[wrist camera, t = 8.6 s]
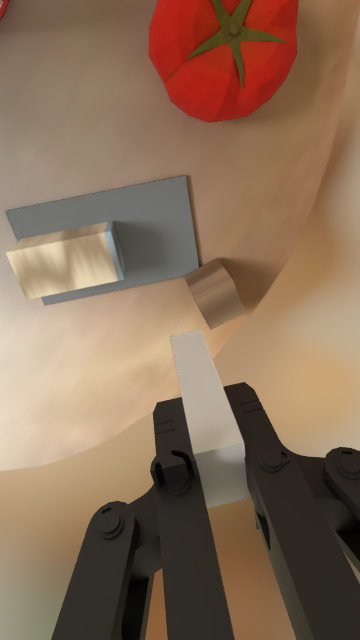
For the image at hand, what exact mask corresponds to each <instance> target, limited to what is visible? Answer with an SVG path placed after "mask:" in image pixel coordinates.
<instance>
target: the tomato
mask: <svg viewBox="0 0 360 640" xmlns="http://www.w3.org/2000/svg"><path fill="white" fill-rule="evenodd" d="M298 1H299V0H158V2H157V5H156V8H155V11H154V14H153V17H152V20H151V23H150V26H149V56H150V59H151V61H152V62H153V64H154V66H155V68H156V70H157V71H158V73H159V75H160V77H161V79H162V80H163V82H164V85H165V87H166V90H167V92H168V94H169V97H170V99H171V102H173V103H174V104H175V105H176V106H177V107H179V108H180V109H181V110H182V111H184V112H185V113H186V114H187V115H190V116H192V117H195V118H197V119H200V120H202V121H205V122H209V123H210V122H217V121H223V120H229V119H235V118H240V117H245V116H248V115H249V114H251V113H252V112H254V111H255V110H256V109H258V108H259V107H260V106H261V105H263V104H264V103H265V102H267V101H268V100H269V99H270V98H271V97H272V96H273V95H274V93H275V92H276V91H277V90H278V88H279V87H280V86H281V84H282V83H283V82H284V80H285V79H286V77H287V75H288V73H289V71H290V68H291V66H292V64H293V61H294V59H295V57H296V55H297V44H296V22H297V11H298Z"/></svg>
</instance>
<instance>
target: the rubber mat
mask: <svg viewBox="0 0 360 640" xmlns="http://www.w3.org/2000/svg"><path fill="white" fill-rule="evenodd" d="M5 213H6V215H7V217H8V220H9V222H10V225H11V227H12V229H13V232H14V234H15V236H16V239H17V241H18V242H19V241H20V240H21V239H24V238H29V237H34V236H39V235H44V234H49V233H54V232H59V231H64V230H69V229H74V228H79V227H84V226H89V225H94V224H99V223H104V222H109V221H113V222H114V225H115V229H116V233H117V237H118V241H119V244H120V248H121V252H122V256H123V259H124V263H125V268H124V280H120V281H115V282H110V283H105V284H101V285H96V286H91V287H86V288H81V289H76V290H72V291H67V292H62V293H57V294H52V295H48V296H43V297H41V298H42V300H43V303H44V305H50V304H54V303H59V302H64V301H69V300H74V299H78V298H83V297H88V296H93V295H97V294H102V293H107V292H112V291H117V290H121V289H126V288H131V287H136V286H141V285H145V284H150V283H155V282H160V281H164V280H169V279H174V278H179V277H184V275H186V274H188V273H190V272H192V271H194V270H195V269H197V268H199V263H198V256H197V249H196V243H195V236H194V229H193V222H192V215H191V209H190V202H189V195H188V188H187V181H186V175H184V176H179V177H174V178H169V179H164V180H159V181H154V182H149V183H144V184H139V185H134V186H128V187H123V188H118V189H113V190H108V191H103V192H98V193H93V194H88V195H83V196H78V197H73V198H68V199H63V200H58V201H53V202H48V203H43V204H38V205H33V206H28V207H23V208H18V209H13V210H8V211H5Z"/></svg>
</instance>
